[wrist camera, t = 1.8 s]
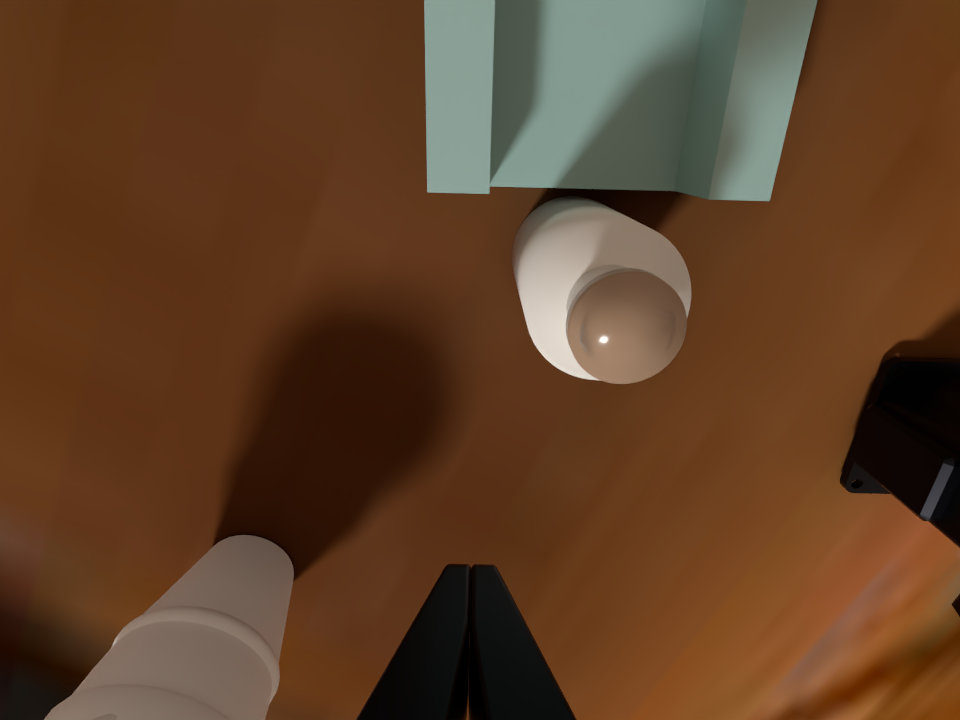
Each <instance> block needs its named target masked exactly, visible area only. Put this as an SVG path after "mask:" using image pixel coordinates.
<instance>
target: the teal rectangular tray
mask: <svg viewBox="0 0 960 720" xmlns="http://www.w3.org/2000/svg"><path fill="white" fill-rule="evenodd" d="M816 4H817V0H424V10H425V74H426V138H427V192H435V193H474V194H489V186H497V187H536V188H575V189H614V190H653V191H676V192H680V193H684V194H688V195H692V196H696V197H700V198H704V199H710V200H749V201H770V197H771V193H772V189H773V185H774V180H775V176H776V172H777V168H778V164H779V159H780V155H781V151H782V147H783V143H784V138H785V134H786V130H787V126H788V122H789V117H790V113H791V109H792V105H793V101H794V96H795V92H796V88H797V84H798V80H799V75H800V71H801V67H802V63H803V59H804V54H805V50H806V46H807V42H808V38H809V33H810V29H811V25H812V21H813V17H814V12H815V8H816Z"/></svg>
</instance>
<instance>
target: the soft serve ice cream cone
mask: <svg viewBox="0 0 960 720" xmlns="http://www.w3.org/2000/svg"><path fill="white" fill-rule="evenodd" d="M293 578H294V569H293V565H292V562H291V560H290V558H289V557H288V555H287V554H286V553H285V552H284V550H283V549H281V548H280V547H279V546H278V545H276V544H275V543H273V542H271V541H269V540H267V539H264V538H262V537H257V536H253V535H236V536H232V537H228V538H226V539H224V540H222V541H220V542H218V543H217V544H216V545H214V546H213V547H212V548H211V549H210V550H209V551H208V552H207V553H206V554H205V555H204V556H203V557H202V558H201V559H200V560H199V561H198V562H197V563H196V564H195V565H194V566H193V567H192V568H191V569H190V570H189V571H188V572H187V573H185V574H184V575H183V576H182V577H181V578H180V579H179V580H178V581H177V582H176V583H175V584H174V585H173V586H172V587H171V588H170V589H169V590H168V591H167V592H166V593H165V594H164V595H163V596H162V597H161V598H160V599H159V600H158V601H157V602H155V603H154V604H153V605H152V606H151V607H150V608H149V609H148V610H147V611H146V612H145V613H144V614H143V615H141V616H138V617H137V618H136V619H134V620H133V621H132V622H130V623H129V624H127V625H126V626H125V627H124V628H123V629H122V631H121V632H120V633H119V634H118V636H117V637H116V639H115V641H114V643H113V646H112V648H111V649H110V650H109V651H108V653H107V654H106V655H105V656H104V657H103V658H102V659H101V660H100V662H99V663H98V664H97V665H96V666H95V667H94V668H93V670H92V671H91V672H90V673H89V674H88V676H87V677H86V678H85V679H84V681H83V682H82V683H81V684H80V686H79V687H78V688H77V689H76V691H75V692H74V693H73V694H72V696H70V697H69V698H67V699H65V700H64V701H63V702H61V703H60V704H58V705H57V706H56V707H54V708H53V709H52V710H51V711H50V713H49V714H48V715H47V717H46V718H45V719H44V720H265V717H266V714H267V710H268V706H269V703H270V702H271V700H272V698H273V697H274V695H275V693H276V691H277V688H278V684H279V680H280V672H279V664H278V663H279V657H280V652H281V646H282V640H283V635H284V629H285V624H286V618H287V612H288V607H289V601H290V595H291V590H292V584H293Z"/></svg>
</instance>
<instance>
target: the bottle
mask: <svg viewBox="0 0 960 720" xmlns="http://www.w3.org/2000/svg"><path fill="white" fill-rule="evenodd" d="M512 267H513V272H514V276H515V280H516V284H517V288H518V292H519V296H520V299H521V303H522V307H523V311H524V315H525V319H526V323H527V327H528V330H529V333H530V336H531V338H532V340H533V342H534V344H535V345H536V347H537V349H538V350H539V351H540V353H541V354H542V355H543V356H544V357H545V358H546V359H547V360H548V361H549V362H550V363H551V364H552V365H554V366H555V367H557V368H558V369H560V370H562V371H564V372H566V373H568V374H570V375H573V376H576V377H579V378H584V379H590V380H602V381H605V382H609V383H615V384H628V383H635V382H638V381H642V380H644V379H647V378H649V377H651V376H653V375H655V374H657V373H658V372H660V371H661V370H662V369H664V368H665V367H666V366H667V365H668V364H669V363H670V362H671V361H672V360H673V359H674V357H675V356H676V355H677V353H678V351H679V350H680V348H681V346H682V343H683V341H684V338H685V334H686V328H687V316H688V313H689V309H690V302H691V283H690V277H689V273H688V270H687V267H686V264H685V262H684V260H683V258H682V256H681V255H680V253H679V252H678V250H677V249H676V248H675V247H674V246H673V245H672V243H671V242H670V241H669V240H667V239H666V238H665V237H664V236H662V235H661V234H660V233H658V232H656V231H654V230H653V229H651V228H649V227H647V226H645V225H643V224H641V223H639V222H637V221H635V220H633V219H631V218H629V217H627V216H625V215H623V214H621V213H619V212H617V211H615V210H613V209H611V208H609V207H607V206H605V205H603V204H601V203H599V202H597V201H595V200H592V199H590V198H586V197H581V196H565V197H559V198H556V199H553V200H550V201H548V202H546V203H544V204H542V205H541V206H539V207H538V208H536V209H535V210H534V211H533V212H531V213H530V214H529V216H528V217H527V218H526V219H525V220H524V222H523V223H522V224H521V226H520V228H519V230H518V231H517V234H516V236H515V239H514V242H513V246H512Z"/></svg>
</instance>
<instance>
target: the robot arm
mask: <svg viewBox="0 0 960 720" xmlns="http://www.w3.org/2000/svg"><path fill="white" fill-rule="evenodd" d="M898 367H899V369H898V370H897V372H895V373H894V371H895V369H897V368H898ZM853 481H854V482H853ZM852 482H853V483H852ZM840 483H841V485H842V486H843V487H844V488H845V489H846V490H847V491H849V492H851V493H878V494H892V495H893V496H894V497H895V498H896V499H898V500H899V501H900V502H901V503H902V504H904V505H905V506H906V507H907V508H908V509H909V510H911V511H912V512H913V513H914V514H915V515H916V516H918V517H919V518H920V519H921V520H923V521H929V522H930V523H931V524H932V525H933V526H935V527H936V528H937V529H938V530H939V531H940V532H942V533H943V534H944V535H945V536H946V537H948V538H949V539H950V540H951V541H952V542H953V543H955V544H956V545H957V546H958V547H959V548H960V359H952V358H908V357H895V358H891V359H889V360H887V361H886V362H885V363H883V365H882V366H881V368H880V371H879V374H878V376H877V379H876V382H875V385H874V387H873V390H872V393H871V396H870V398H869V401H868V404H867V407H866V409H865V412H864V415H863V417H862V420H861V423H860V426H859V428H858V431H857V434H856V437H855V439H854V442H853V445H852V448H851V450H850V453H849V456H848V458H847V461H846V464H845V467H844V469H843V472H842V475H841V478H840ZM470 590H471V601H470ZM952 606H953V607H954V609H955V610H956V612H957V613H958V615H959V616H960V594H959V596H958V597H957V598H956V599H955V600H954V602H953V603H952ZM469 635H470V646H469ZM468 679H469V720H576V718H575V716H574V714H573V712H572V710H571V708H570V706H569V704H568V702H567V701H566V699H565V697H564V695H563V693H562V691H561V689H560V687H559V685H558V683H557V681H556V680H555V678H554V676H553V674H552V672H551V670H550V668H549V666H548V664H547V662H546V660H545V658H544V657H543V655H542V653H541V651H540V649H539V647H538V645H537V643H536V641H535V639H534V637H533V636H532V634H531V632H530V630H529V628H528V626H527V624H526V622H525V620H524V618H523V616H522V615H521V613H520V611H519V609H518V607H517V605H516V603H515V601H514V599H513V597H512V595H511V594H510V592H509V590H508V588H507V586H506V584H505V582H504V580H503V578H502V576H501V574H500V573H499V571H498V569H497V567H496V566H494V565H481V564H475V565H473V566H472V568H471V567H470V566H469V565H468V564H448V565H447V566H446V567H445V568H444V570H443V571H442V573H441V575H440V577H439V578H438V580H437V582H436V583H435V585H434V587H433V589H432V590H431V592H430V594H429V595H428V597H427V599H426V601H425V602H424V604H423V606H422V607H421V609H420V611H419V613H418V614H417V616H416V618H415V619H414V621H413V623H412V625H411V626H410V628H409V630H408V631H407V633H406V635H405V637H404V638H403V640H402V642H401V643H400V645H399V647H398V649H397V650H396V652H395V654H394V656H393V657H392V659H391V661H390V662H389V664H388V666H387V668H386V669H385V671H384V673H383V674H382V676H381V678H380V680H379V681H378V683H377V685H376V686H375V688H374V690H373V692H372V693H371V695H370V697H369V698H368V700H367V702H366V704H365V705H364V707H363V709H362V710H361V712H360V714H359V716H358V717H357V719H356V720H466V717H467V706H468Z"/></svg>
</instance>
